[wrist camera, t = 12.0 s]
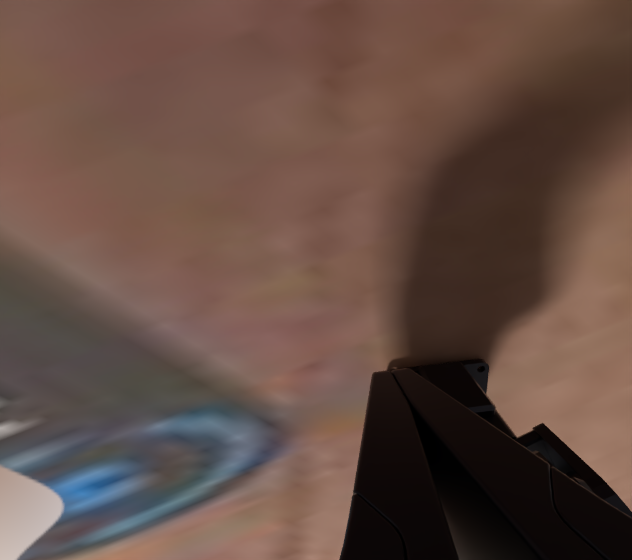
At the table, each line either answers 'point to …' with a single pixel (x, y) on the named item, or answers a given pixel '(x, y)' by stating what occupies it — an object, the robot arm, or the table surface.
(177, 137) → the table surface
